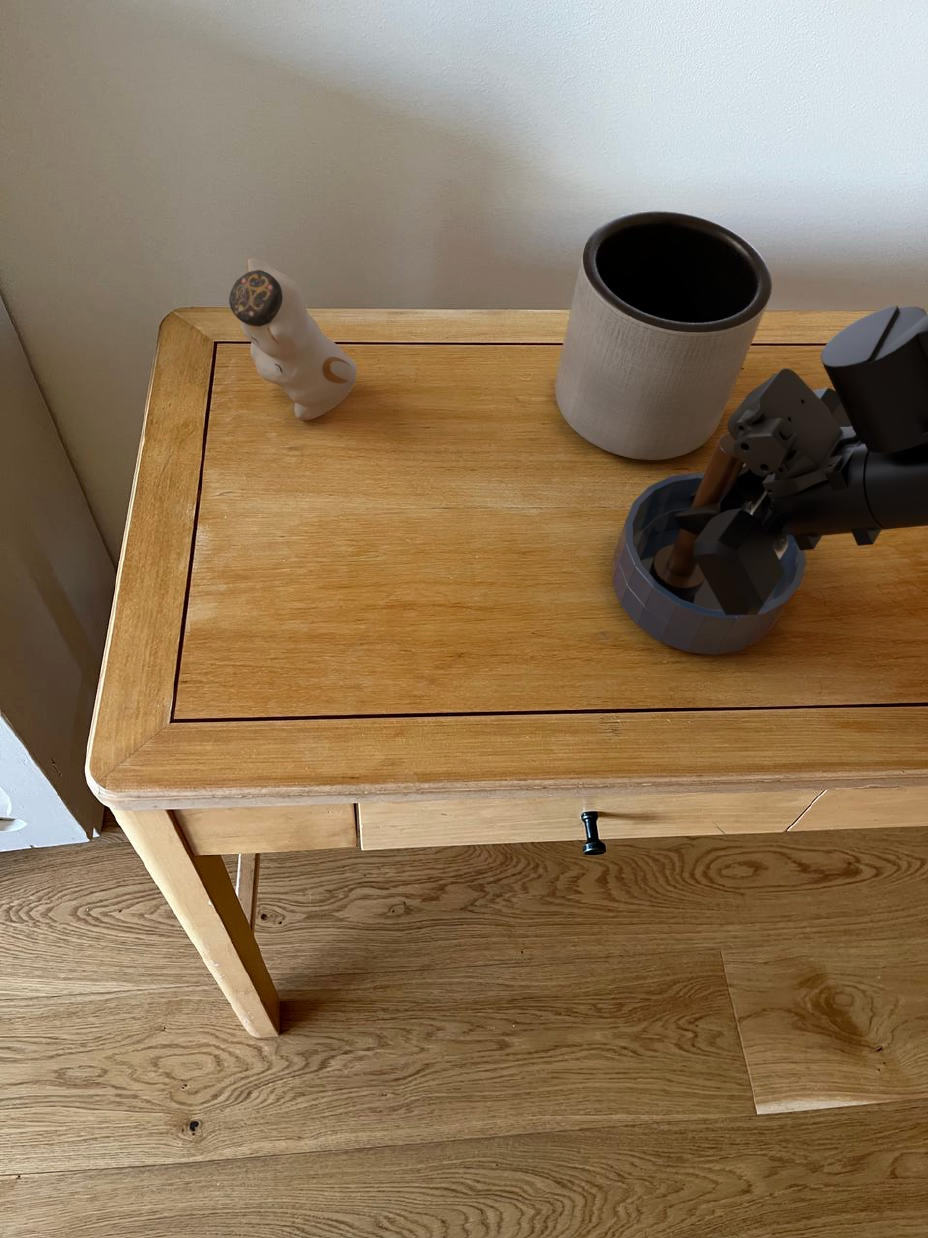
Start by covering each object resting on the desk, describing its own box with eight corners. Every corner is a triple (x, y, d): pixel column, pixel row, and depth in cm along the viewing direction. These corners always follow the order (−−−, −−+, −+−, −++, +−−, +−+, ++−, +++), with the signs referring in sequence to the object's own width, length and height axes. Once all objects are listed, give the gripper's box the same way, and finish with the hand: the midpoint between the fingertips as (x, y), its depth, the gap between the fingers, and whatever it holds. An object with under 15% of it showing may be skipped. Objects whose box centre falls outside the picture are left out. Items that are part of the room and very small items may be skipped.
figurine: (247, 376, 88) (223, 235, 75) (353, 370, 89) (347, 230, 76) (251, 444, 83) (226, 306, 70) (363, 436, 84) (358, 299, 72)
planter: (752, 428, 88) (815, 292, 75) (622, 492, 83) (665, 357, 70) (646, 328, 95) (687, 187, 82) (519, 382, 90) (542, 240, 77)
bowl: (739, 508, 83) (762, 463, 78) (806, 642, 76) (835, 601, 70) (588, 531, 80) (602, 485, 75) (642, 671, 73) (661, 631, 68)
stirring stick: (691, 551, 78) (752, 417, 65) (710, 594, 75) (777, 464, 62) (641, 559, 77) (693, 424, 64) (659, 602, 75) (716, 472, 62)
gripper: (896, 295, 59) (696, 353, 71) (773, 465, 50) (569, 499, 63) (951, 439, 64) (754, 471, 76) (847, 619, 55) (643, 622, 67)
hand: (685, 510), depth 70 cm, fingers closed on stirring stick, 2 cm apart
